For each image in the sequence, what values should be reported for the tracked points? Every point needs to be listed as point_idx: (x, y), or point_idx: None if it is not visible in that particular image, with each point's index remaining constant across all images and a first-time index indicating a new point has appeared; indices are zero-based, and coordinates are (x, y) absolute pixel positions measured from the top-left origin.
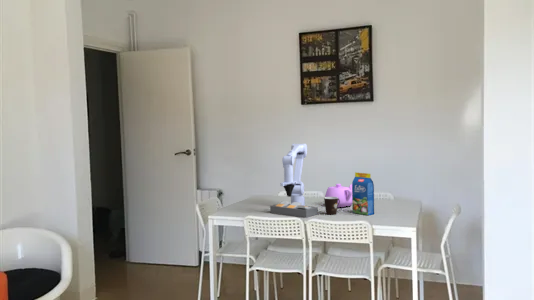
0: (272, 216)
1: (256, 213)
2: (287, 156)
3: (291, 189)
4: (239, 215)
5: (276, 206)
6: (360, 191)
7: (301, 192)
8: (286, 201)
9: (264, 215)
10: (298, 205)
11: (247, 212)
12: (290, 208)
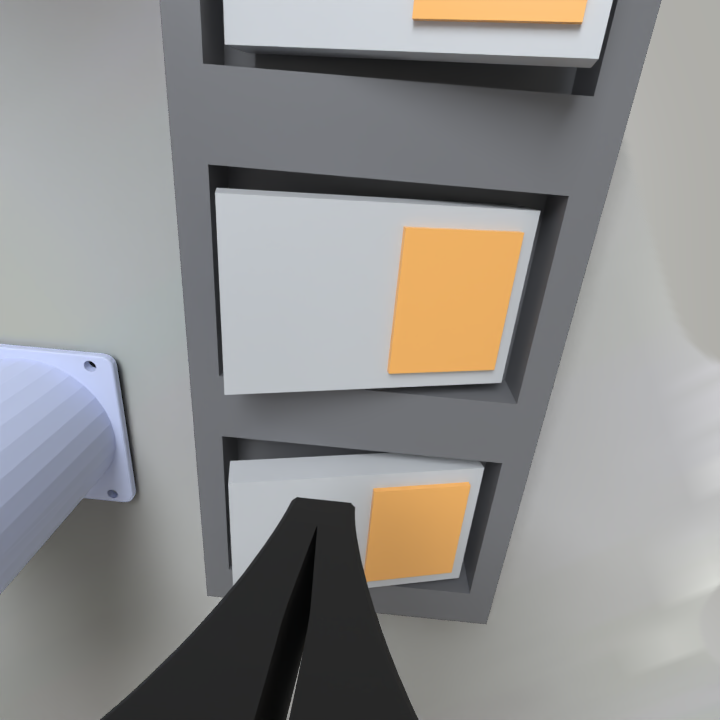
0: (681, 420)
1: (554, 638)
2: None
3: (263, 694)
4: (709, 708)
5: (496, 540)
6: None
7: None
8: (236, 540)
9: (641, 528)
10: (334, 196)
11: (535, 714)
12: (591, 241)
